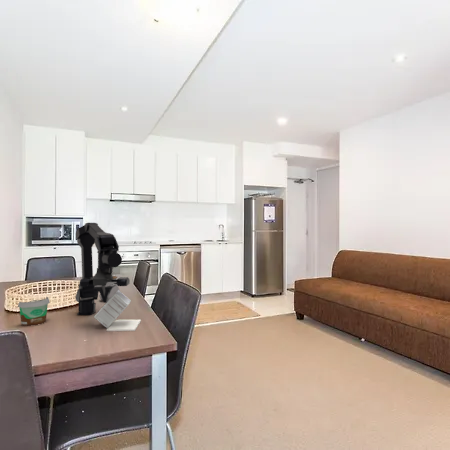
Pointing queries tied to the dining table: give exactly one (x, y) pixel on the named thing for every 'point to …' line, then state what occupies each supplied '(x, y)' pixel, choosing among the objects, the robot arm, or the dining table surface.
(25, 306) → the food container
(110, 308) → the supplement box
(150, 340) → the dining table surface
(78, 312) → the robot arm
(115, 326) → the white flat slab
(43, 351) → the dining table surface
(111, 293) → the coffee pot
